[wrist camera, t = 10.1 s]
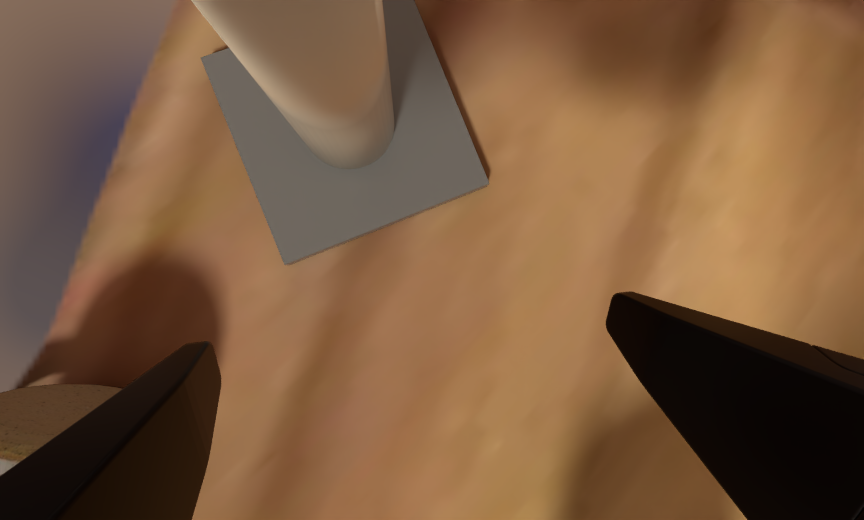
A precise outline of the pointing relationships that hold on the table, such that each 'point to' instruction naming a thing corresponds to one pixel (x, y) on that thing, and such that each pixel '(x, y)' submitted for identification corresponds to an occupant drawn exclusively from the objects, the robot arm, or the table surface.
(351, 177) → the slate coaster
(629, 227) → the table surface
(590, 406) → the table surface
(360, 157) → the frosted tapered cylinder
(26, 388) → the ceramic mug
